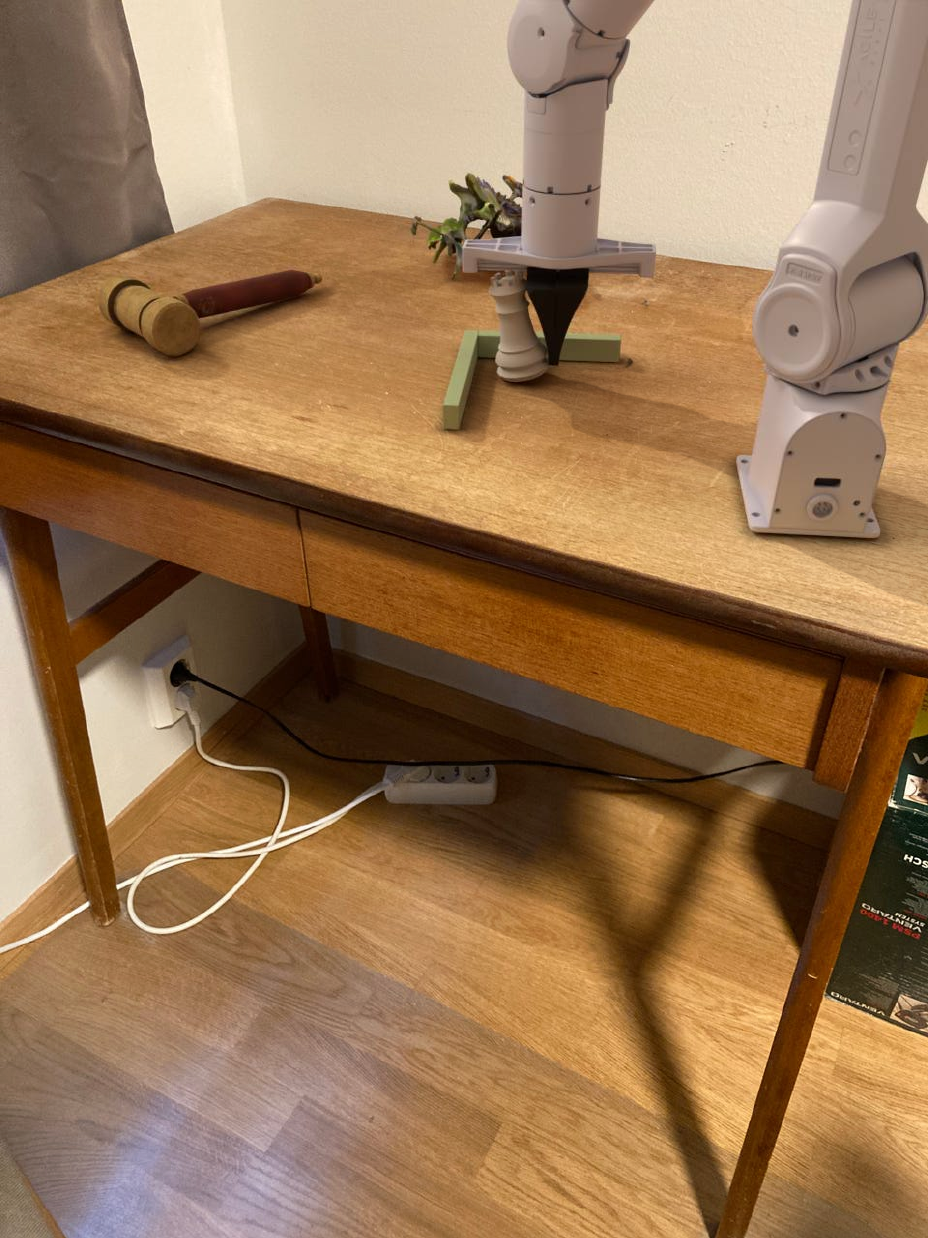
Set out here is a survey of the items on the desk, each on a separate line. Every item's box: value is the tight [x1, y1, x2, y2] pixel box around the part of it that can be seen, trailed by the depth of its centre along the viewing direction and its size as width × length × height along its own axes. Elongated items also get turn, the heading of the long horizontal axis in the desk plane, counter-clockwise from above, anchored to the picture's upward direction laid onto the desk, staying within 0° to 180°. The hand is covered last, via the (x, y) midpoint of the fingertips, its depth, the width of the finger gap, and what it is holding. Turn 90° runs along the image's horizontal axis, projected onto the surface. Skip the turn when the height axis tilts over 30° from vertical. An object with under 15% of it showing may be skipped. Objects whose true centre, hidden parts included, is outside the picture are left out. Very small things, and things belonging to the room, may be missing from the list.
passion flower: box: [410, 172, 523, 281], centre depth 100 cm, size 11×11×12 cm
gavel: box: [97, 269, 323, 357], centre depth 93 cm, size 21×5×10 cm
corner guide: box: [442, 329, 622, 431], centre depth 80 cm, size 15×13×2 cm
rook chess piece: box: [488, 271, 550, 383], centre depth 80 cm, size 4×4×8 cm
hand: (553, 360), depth 81 cm, fingers closed
